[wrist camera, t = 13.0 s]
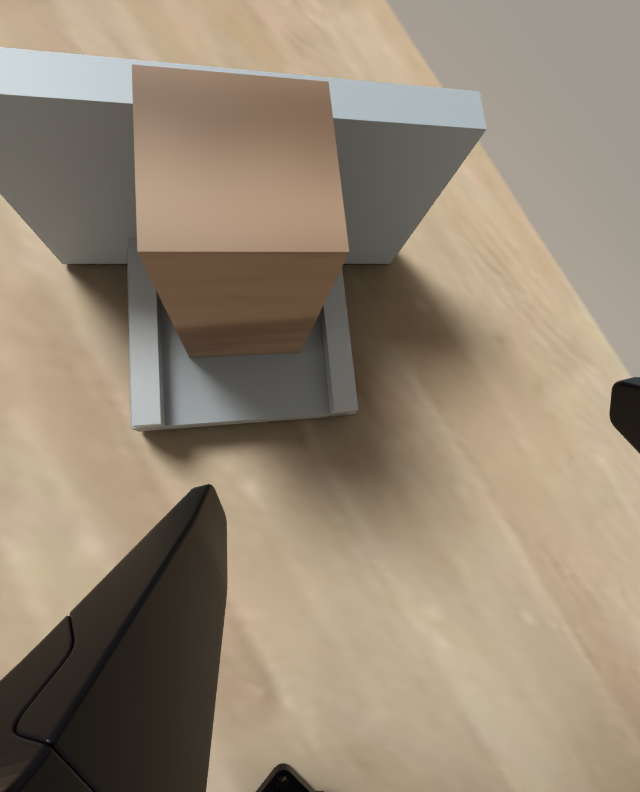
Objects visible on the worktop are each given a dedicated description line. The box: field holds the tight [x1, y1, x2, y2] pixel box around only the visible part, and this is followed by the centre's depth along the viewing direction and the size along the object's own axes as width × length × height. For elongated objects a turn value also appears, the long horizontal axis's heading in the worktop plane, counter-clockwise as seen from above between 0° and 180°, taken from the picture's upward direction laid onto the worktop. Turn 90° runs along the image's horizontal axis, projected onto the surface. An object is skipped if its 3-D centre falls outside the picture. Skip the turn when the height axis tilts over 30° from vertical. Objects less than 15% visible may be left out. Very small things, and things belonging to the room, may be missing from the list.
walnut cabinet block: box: [132, 64, 349, 358], centre depth 16 cm, size 6×6×10 cm
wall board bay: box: [0, 47, 486, 431], centre depth 17 cm, size 11×18×10 cm, turn 96°
